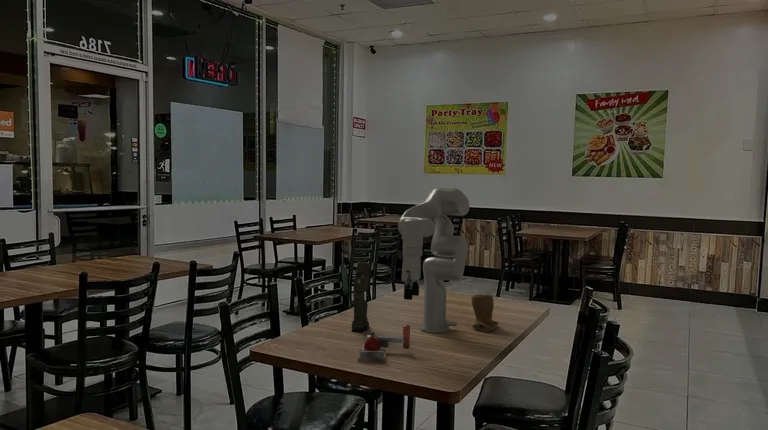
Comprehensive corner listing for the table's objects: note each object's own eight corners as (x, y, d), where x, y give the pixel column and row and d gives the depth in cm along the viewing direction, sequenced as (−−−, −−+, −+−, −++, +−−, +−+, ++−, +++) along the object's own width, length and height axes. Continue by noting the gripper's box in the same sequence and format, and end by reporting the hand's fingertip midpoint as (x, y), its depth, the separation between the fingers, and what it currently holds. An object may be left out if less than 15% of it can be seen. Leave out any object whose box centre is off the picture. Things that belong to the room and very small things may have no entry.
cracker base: (384, 347, 219) (385, 330, 219) (385, 361, 202) (386, 343, 202) (358, 347, 219) (359, 330, 219) (357, 361, 202) (357, 342, 202)
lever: (365, 346, 214) (365, 324, 213) (367, 343, 218) (367, 321, 218) (408, 349, 211) (409, 327, 211) (410, 346, 216) (410, 324, 215)
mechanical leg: (363, 332, 236) (368, 260, 241) (346, 331, 238) (352, 259, 243) (370, 332, 250) (375, 264, 255) (354, 331, 251) (359, 263, 256)
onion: (363, 354, 210) (363, 333, 210) (379, 354, 211) (379, 332, 210) (364, 359, 205) (364, 337, 204) (380, 359, 205) (380, 337, 205)
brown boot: (475, 322, 261) (476, 290, 260) (500, 326, 256) (501, 292, 255) (465, 330, 247) (466, 296, 246) (492, 334, 242) (493, 299, 241)
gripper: (410, 248, 226) (409, 292, 227) (395, 253, 210) (394, 300, 211) (428, 249, 223) (427, 294, 225) (415, 254, 207) (414, 302, 208)
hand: (411, 297), depth 218 cm, fingers open, 7 cm apart
